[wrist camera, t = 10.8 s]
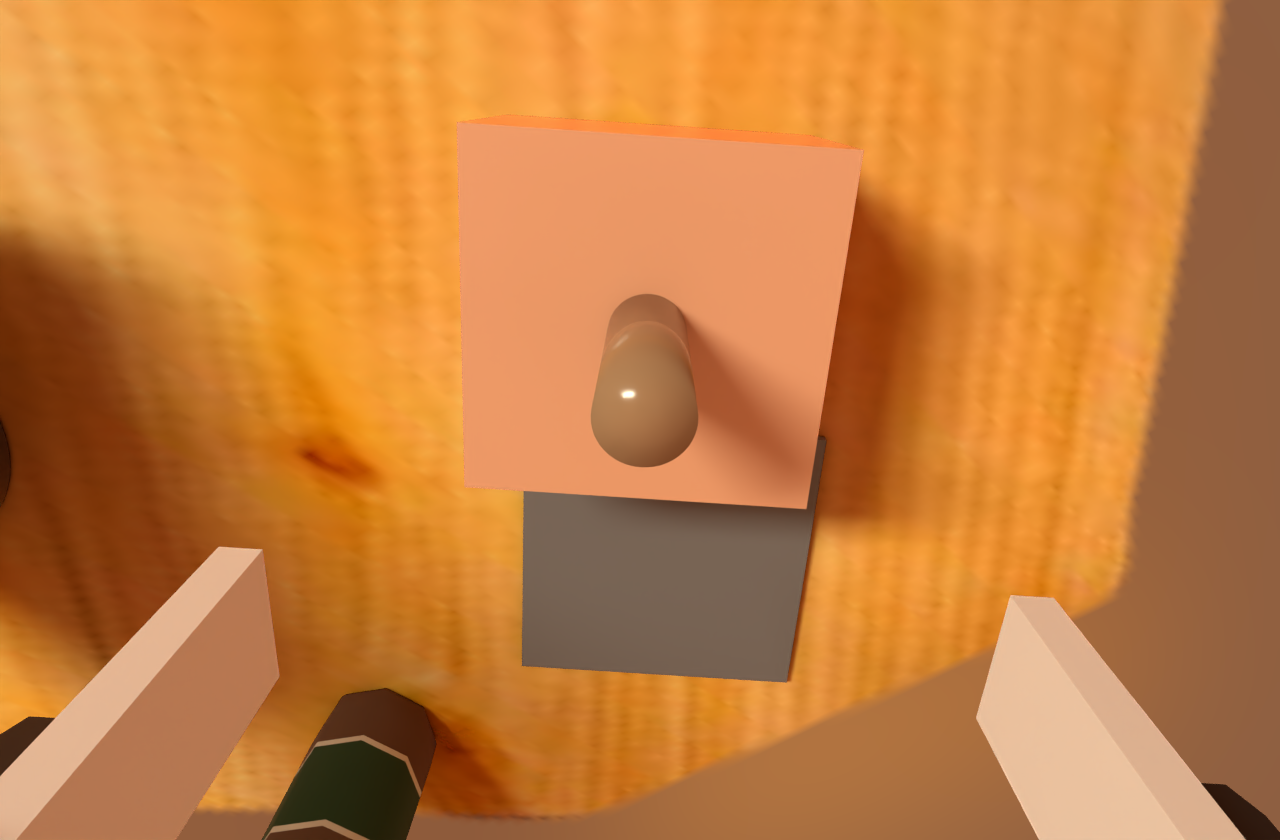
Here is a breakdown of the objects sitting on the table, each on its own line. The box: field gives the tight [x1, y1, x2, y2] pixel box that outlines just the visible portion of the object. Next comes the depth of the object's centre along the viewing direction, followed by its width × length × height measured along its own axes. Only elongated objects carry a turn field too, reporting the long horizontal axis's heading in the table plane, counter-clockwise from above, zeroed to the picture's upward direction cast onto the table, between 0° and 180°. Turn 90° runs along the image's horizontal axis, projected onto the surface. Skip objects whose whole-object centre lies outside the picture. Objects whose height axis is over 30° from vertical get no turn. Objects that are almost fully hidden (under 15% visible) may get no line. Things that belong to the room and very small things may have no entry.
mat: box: [522, 436, 826, 682], centre depth 49 cm, size 17×17×1 cm
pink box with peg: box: [457, 115, 864, 509], centre depth 33 cm, size 15×15×20 cm
